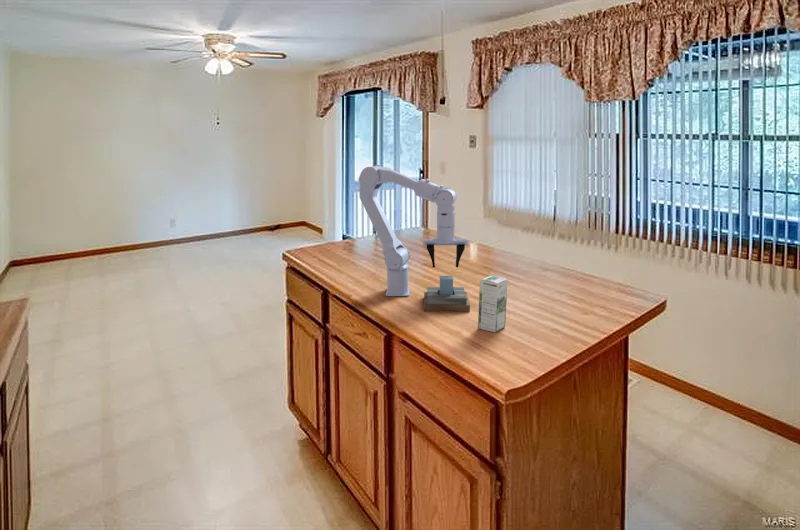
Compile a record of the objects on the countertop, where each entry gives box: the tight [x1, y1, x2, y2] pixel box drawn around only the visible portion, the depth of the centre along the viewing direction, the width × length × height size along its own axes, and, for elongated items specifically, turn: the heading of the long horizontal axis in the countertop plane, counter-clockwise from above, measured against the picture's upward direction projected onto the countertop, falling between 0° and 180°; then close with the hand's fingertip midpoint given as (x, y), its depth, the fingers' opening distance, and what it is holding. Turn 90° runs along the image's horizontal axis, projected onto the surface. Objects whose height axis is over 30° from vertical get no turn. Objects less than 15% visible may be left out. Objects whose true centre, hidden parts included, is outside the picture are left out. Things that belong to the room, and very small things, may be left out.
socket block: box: [423, 286, 471, 313], centre depth 172 cm, size 14×14×4 cm
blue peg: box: [439, 275, 454, 295], centre depth 171 cm, size 4×4×7 cm
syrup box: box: [477, 275, 509, 333], centre depth 150 cm, size 6×6×14 cm
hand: (445, 266), depth 178 cm, fingers open, 7 cm apart
